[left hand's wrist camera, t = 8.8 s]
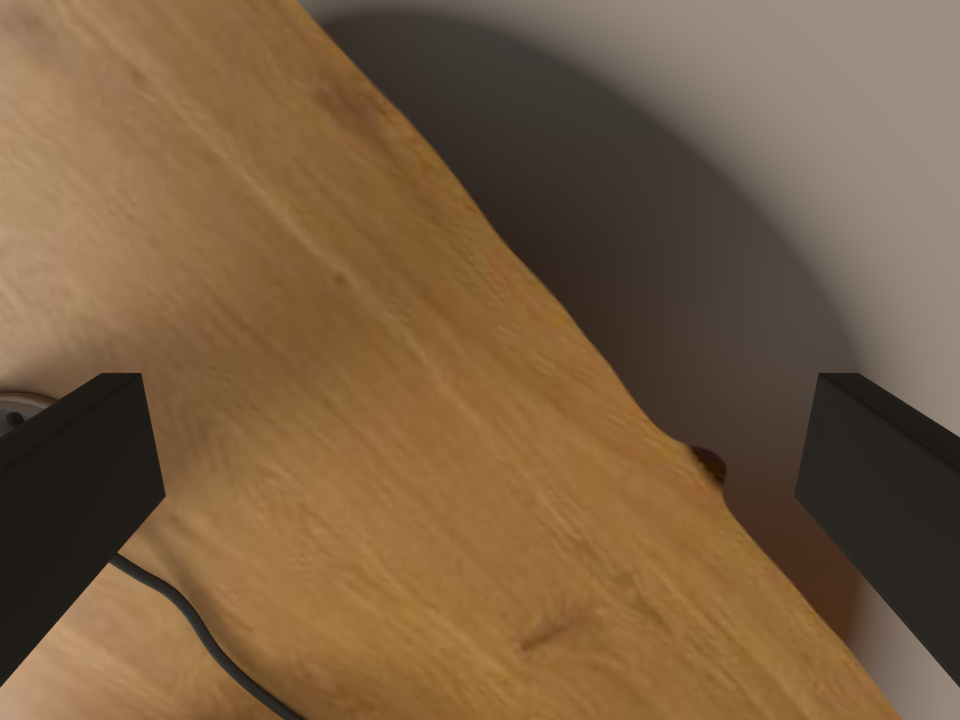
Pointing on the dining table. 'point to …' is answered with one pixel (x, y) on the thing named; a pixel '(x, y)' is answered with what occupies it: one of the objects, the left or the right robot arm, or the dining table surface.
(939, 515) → the left robot arm
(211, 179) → the dining table surface
